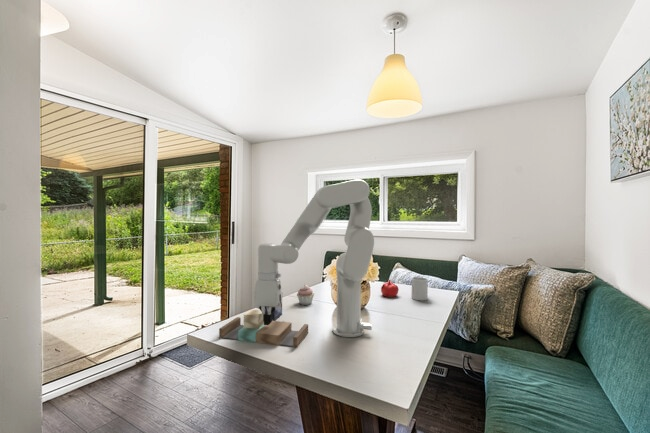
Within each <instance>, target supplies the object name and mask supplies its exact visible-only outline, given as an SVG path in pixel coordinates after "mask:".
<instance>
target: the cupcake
mask: <svg viewBox="0 0 650 433" xmlns="http://www.w3.org/2000/svg"><path fill="white" fill-rule="evenodd" d="M314 296H315V293H314V292H313V289H312V288H311V287H310V286H309V285H307V284H304V286H301V287H300V289H298V290H297V293H296V297H297V299H298V303H299V304H300V305H304V306H308V305H311V304H312V303H313V299H314Z"/></svg>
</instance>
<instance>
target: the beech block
mask: <svg viewBox="0 0 650 433" xmlns="http://www.w3.org/2000/svg"><path fill="white" fill-rule="evenodd" d="M243 325H244V328H252V329H259V328H260V327H261V326H263V325H264V322H263V314H262V312H261V310H260V309H258V310H257V309H250V310H248V311H247V312H246V313H244V314H243Z"/></svg>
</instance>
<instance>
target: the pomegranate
mask: <svg viewBox="0 0 650 433" xmlns="http://www.w3.org/2000/svg"><path fill="white" fill-rule="evenodd" d="M380 292H381V295H383V297H386V298H394V297H396V296H397V295H398V293H399V287H398V285H397V284H396V282H394V281H391V279H388V281H386V282H383V283H382V286H381V287H380Z"/></svg>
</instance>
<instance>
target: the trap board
mask: <svg viewBox="0 0 650 433" xmlns="http://www.w3.org/2000/svg"><path fill="white" fill-rule="evenodd" d="M241 323H242V321H241V317H239V316H236V317H235V318H234V319H232V320H231V321H229V322H228V323H225V324H224V325H223V326H221V327H219V329H218V338H219V339H225V340H233V341H242V342H248V343H249V342H250V343H257V344H265V345H275V346H283V347H290V348H298V347H300V345H301V343H302V342H303V341H304V339H305V338H306V337H307V335H308V334H309V324H306V323H304V324H303V326H301V328H300V329H299V330H292V322H288V321H280V320H279V321H278V320H275V321H272V322H271V323H270V324H269V325H263V326H261V327H260V328H259V329H252V328H244V324H241Z"/></svg>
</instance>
